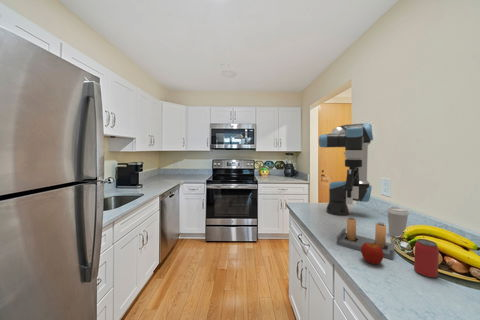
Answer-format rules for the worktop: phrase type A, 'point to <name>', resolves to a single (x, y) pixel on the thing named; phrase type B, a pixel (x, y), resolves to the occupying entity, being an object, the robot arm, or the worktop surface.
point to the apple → (372, 253)
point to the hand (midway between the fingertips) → (352, 201)
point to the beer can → (426, 258)
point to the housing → (369, 241)
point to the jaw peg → (351, 229)
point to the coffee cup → (397, 220)
